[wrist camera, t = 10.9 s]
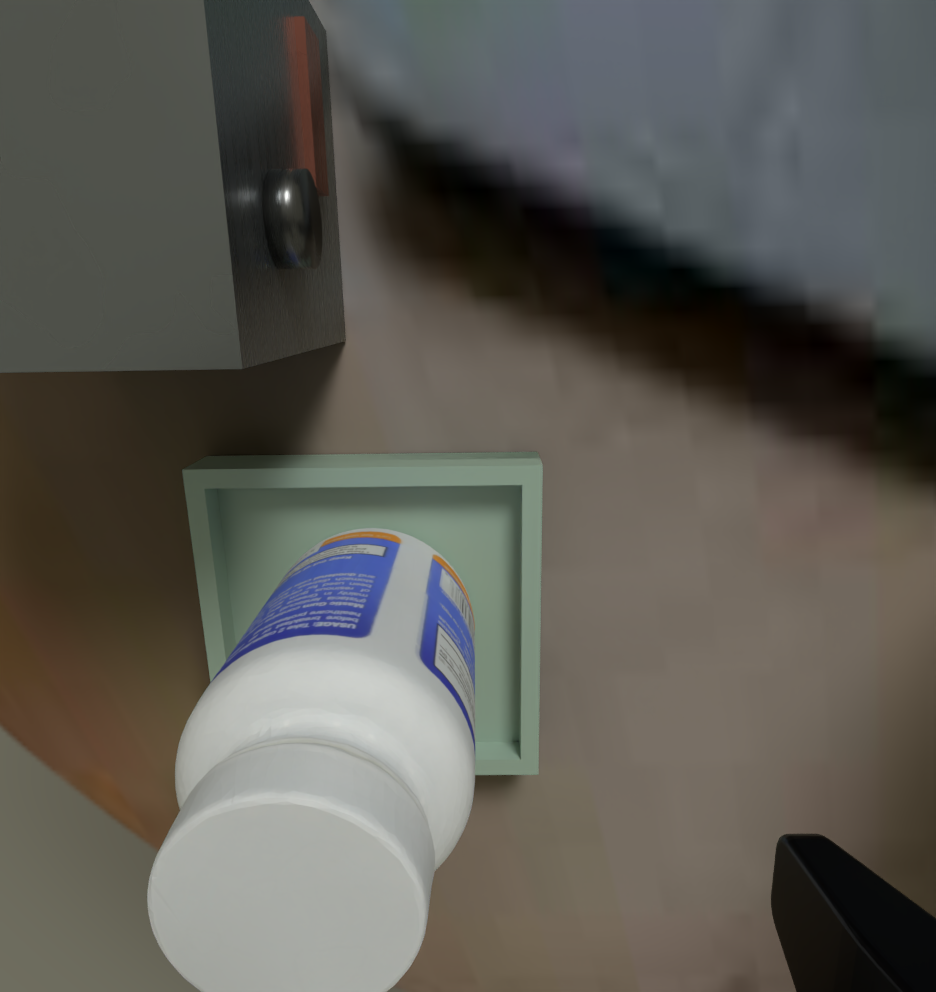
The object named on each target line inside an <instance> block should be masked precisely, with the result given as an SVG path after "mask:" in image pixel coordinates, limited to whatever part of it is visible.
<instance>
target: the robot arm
mask: <svg viewBox="0 0 936 992" xmlns="http://www.w3.org/2000/svg"><path fill="white" fill-rule="evenodd" d="M771 908H772V915H773V919H774V923H775V927H776V930H777V933H778V936H779V939H780V942H781V945H782V949H783V952H784V955H785V958H786V961H787V964H788V967H789V970H790V973H791V976H792V979H793V982H794V985H795V988H796V992H936V918H934V917H933V916H932V915H930V914H929V913H928V912H926V911H925V910H924V909H922V908H921V907H920V906H918V905H917V904H916V903H914V902H913V901H912V900H910V899H909V898H908V897H906V896H905V895H903V894H902V893H901V892H899V891H898V890H897V889H895V888H894V887H893V886H891V885H890V884H889V883H887V882H886V881H885V880H883V879H882V878H881V877H879V876H878V875H877V874H875V873H874V872H873V871H871V870H870V869H869V868H867V867H866V866H865V865H863V864H862V863H861V862H859V861H858V860H857V859H855V858H854V857H853V856H851V855H850V854H848V853H847V852H846V851H844V850H843V849H842V848H840V847H839V846H838V845H836V844H835V843H834V842H832V841H831V840H830V839H828V838H826V837H825V836H823V835H820V834H785V835H783V836H781V837H780V838H779V840H778V842H777V846H776V854H775V864H774V873H773V883H772V892H771Z"/></svg>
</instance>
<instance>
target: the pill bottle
mask: <svg viewBox="0 0 936 992" xmlns="http://www.w3.org/2000/svg"><path fill="white" fill-rule="evenodd" d="M475 754H476V752H475V622H474V616H473V611H472V606H471V602H470V598H469V596H468V593H467V590H466V588H465V586H464V584H463V582H462V580H461V578H460V577H459V575H458V574H457V572H456V571H455V570H454V568H453V567H452V566H451V565H450V564H449V562H448V561H447V560H446V559H445V558H444V557H443V556H442V555H440V554H439V553H438V552H437V551H435V550H434V549H433V548H431V547H430V546H429V545H427V544H425V543H424V542H422V541H420V540H418V539H416V538H414V537H412V536H410V535H407V534H404V533H401V532H397V531H393V530H389V529H380V528H363V529H355V530H350V531H346V532H342V533H339V534H336V535H333V536H331V537H329V538H327V539H325V540H323V541H321V542H319V543H318V544H316V545H315V546H314V547H312V548H311V549H309V550H308V551H307V552H306V553H305V554H303V555H302V556H301V557H300V558H299V559H298V560H297V561H296V562H295V564H294V565H293V566H292V567H291V568H290V569H289V571H288V572H287V573H286V575H285V576H284V577H283V579H282V580H281V582H280V583H279V585H278V586H277V588H276V589H275V590H274V592H273V593H272V595H271V596H270V598H269V599H268V601H267V602H266V604H265V605H264V606H263V608H262V609H261V611H260V612H259V614H258V615H257V617H256V618H255V619H254V621H253V622H252V624H251V625H250V627H249V628H248V630H247V631H246V633H245V634H244V635H243V637H242V638H241V640H240V641H239V643H238V644H237V646H236V647H235V649H234V650H233V651H232V653H231V654H230V656H229V657H228V659H227V660H226V662H225V663H224V665H223V666H222V667H221V669H220V670H219V672H218V673H217V674H216V676H215V677H214V678H213V680H212V681H211V683H210V684H209V686H208V687H207V689H206V690H205V691H204V693H203V695H202V696H201V698H200V699H199V701H198V703H197V705H196V706H195V708H194V710H193V712H192V713H191V715H190V717H189V719H188V721H187V723H186V726H185V728H184V730H183V733H182V735H181V739H180V742H179V746H178V751H177V757H176V764H175V788H176V795H177V801H178V805H179V808H180V812H179V814H178V816H177V817H176V819H175V821H174V823H173V825H172V826H171V828H170V830H169V832H168V834H167V836H166V838H165V840H164V842H163V844H162V846H161V848H160V850H159V852H158V854H157V856H156V858H155V861H154V864H153V866H152V870H151V874H150V878H149V884H148V892H147V904H148V913H149V918H150V923H151V926H152V930H153V933H154V935H155V938H156V939H157V942H158V944H159V946H160V948H161V949H162V951H163V953H164V955H165V956H166V958H167V959H168V960H169V962H170V963H171V964H172V965H173V966H174V967H175V969H176V970H177V971H178V972H179V973H180V974H181V975H182V976H183V977H184V978H185V979H186V980H187V981H188V982H190V983H191V984H192V985H193V986H195V987H196V988H197V989H199V990H200V991H201V992H387V991H388V990H389V989H390V988H392V987H393V986H394V985H395V984H396V983H397V982H398V981H399V980H400V978H401V977H402V976H403V975H404V974H405V973H406V971H407V970H408V969H409V968H410V966H411V964H412V963H413V961H414V959H415V958H416V956H417V954H418V952H419V949H420V947H421V945H422V942H423V939H424V936H425V931H426V925H427V919H428V911H429V902H430V894H431V887H432V882H433V878H434V871H435V870H437V869H438V868H439V866H440V865H441V864H442V863H443V862H444V861H445V860H446V859H447V857H448V856H449V855H450V853H451V852H452V850H453V849H454V847H455V846H456V844H457V842H458V840H459V839H460V837H461V835H462V833H463V831H464V828H465V826H466V824H467V821H468V818H469V815H470V812H471V807H472V803H473V796H474V786H475Z"/></svg>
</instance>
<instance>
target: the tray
mask: <svg viewBox="0 0 936 992" xmlns="http://www.w3.org/2000/svg"><path fill="white" fill-rule="evenodd" d="M182 473H183V481H184V488H185V496H186V503H187V510H188V518H189V525H190V533H191V540H192V548H193V555H194V563H195V570H196V578H197V585H198V593H199V600H200V607H201V615H202V622H203V630H204V637H205V645H206V652H207V660H208V667H209V675H210V682H211V681H212V680H213V678H214V677H215V676H216V674H217V673H218V672H219V670H220V669H221V667H222V666H223V665H224V663H225V662H226V660H227V659H228V657H229V656H230V654H231V653H232V651H233V650H234V649H235V647H236V646H237V644H238V643H239V641H240V640H241V638H242V637H243V635H244V634H245V633H246V631H247V630H248V628H249V627H250V625H251V624H252V622H253V621H254V619H255V618H256V617H257V615H258V614H259V612H260V611H261V609H262V608H263V606H264V605H265V604H266V602H267V601H268V599H269V598H270V596H271V595H272V593H273V592H274V590H275V589H276V588H277V586H278V585H279V583H280V582H281V580H282V579H283V577H284V576H285V575H286V573H287V572H288V571H289V569H290V568H291V567H292V566H293V565H294V564H295V562H296V561H297V560H298V559H299V558H300V557H301V556H302V555H303V554H305V553H306V552H307V551H308V550H309V549H311V548H312V547H314V546H315V545H316V544H318V543H319V542H321V541H323V540H325V539H327V538H329V537H331V536H333V535H336V534H339V533H342V532H346V531H350V530H355V529H363V528H380V529H389V530H393V531H397V532H401V533H404V534H407V535H410V536H412V537H414V538H416V539H418V540H420V541H422V542H424V543H425V544H427V545H429V546H430V547H431V548H433V549H434V550H435V551H437V552H438V553H439V554H440V555H442V556H443V557H444V558H445V559H446V560H447V561H448V562H449V564H450V565H451V566H452V567H453V568H454V570H455V571H456V572H457V574H458V575H459V577H460V578H461V580H462V582H463V584H464V586H465V588H466V590H467V593H468V596H469V598H470V602H471V606H472V611H473V616H474V622H475V752H476V754H475V775H538V765H539V693H540V621H541V550H542V478H543V465H542V462H541V460H540V457H539V455H538V452H481V453H402V454H324V455H245V456H206V457H204V458H202V459H200V460H199V461H197V462H195V463H193V464H191V465H190V466H188V467H186V468H184V469H182Z"/></svg>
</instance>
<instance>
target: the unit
mask: <svg viewBox="0 0 936 992" xmlns="http://www.w3.org/2000/svg"><path fill="white" fill-rule="evenodd" d="M344 341H346V338H345V322H344V306H343V290H342V275H341V259H340V243H339V228H338V212H337V196H336V180H335V165H334V149H333V133H332V117H331V102H330V86H329V70H328V54H327V39H326V30H325V29H324V27H323V25H322V23H321V21H320V20H319V18H318V16H317V14H316V13H315V11H314V9H313V7H312V5H311V4H310V2H309V0H0V373H14V372H80V371H146V370H212V369H244V368H248V367H252V366H255V365H259V364H263V363H266V362H270V361H274V360H277V359H281V358H285V357H289V356H292V355H296V354H300V353H303V352H307V351H311V350H314V349H318V348H322V347H325V346H329V345H333V344H336V343H340V342H344Z"/></svg>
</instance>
